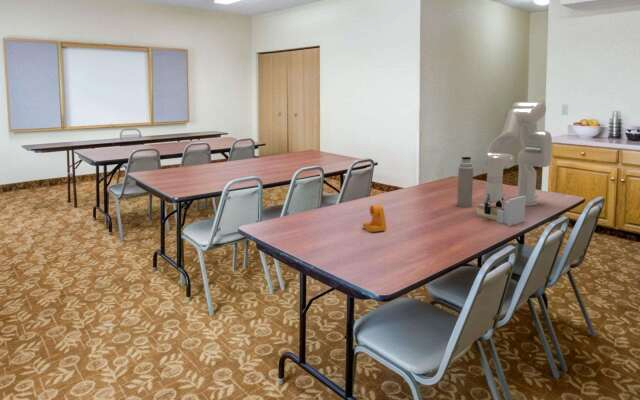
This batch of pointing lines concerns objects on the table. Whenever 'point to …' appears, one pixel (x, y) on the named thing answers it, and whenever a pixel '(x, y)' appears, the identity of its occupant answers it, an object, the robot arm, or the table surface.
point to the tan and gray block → (492, 214)
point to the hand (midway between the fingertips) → (492, 212)
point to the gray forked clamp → (512, 211)
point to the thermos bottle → (465, 183)
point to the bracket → (376, 219)
